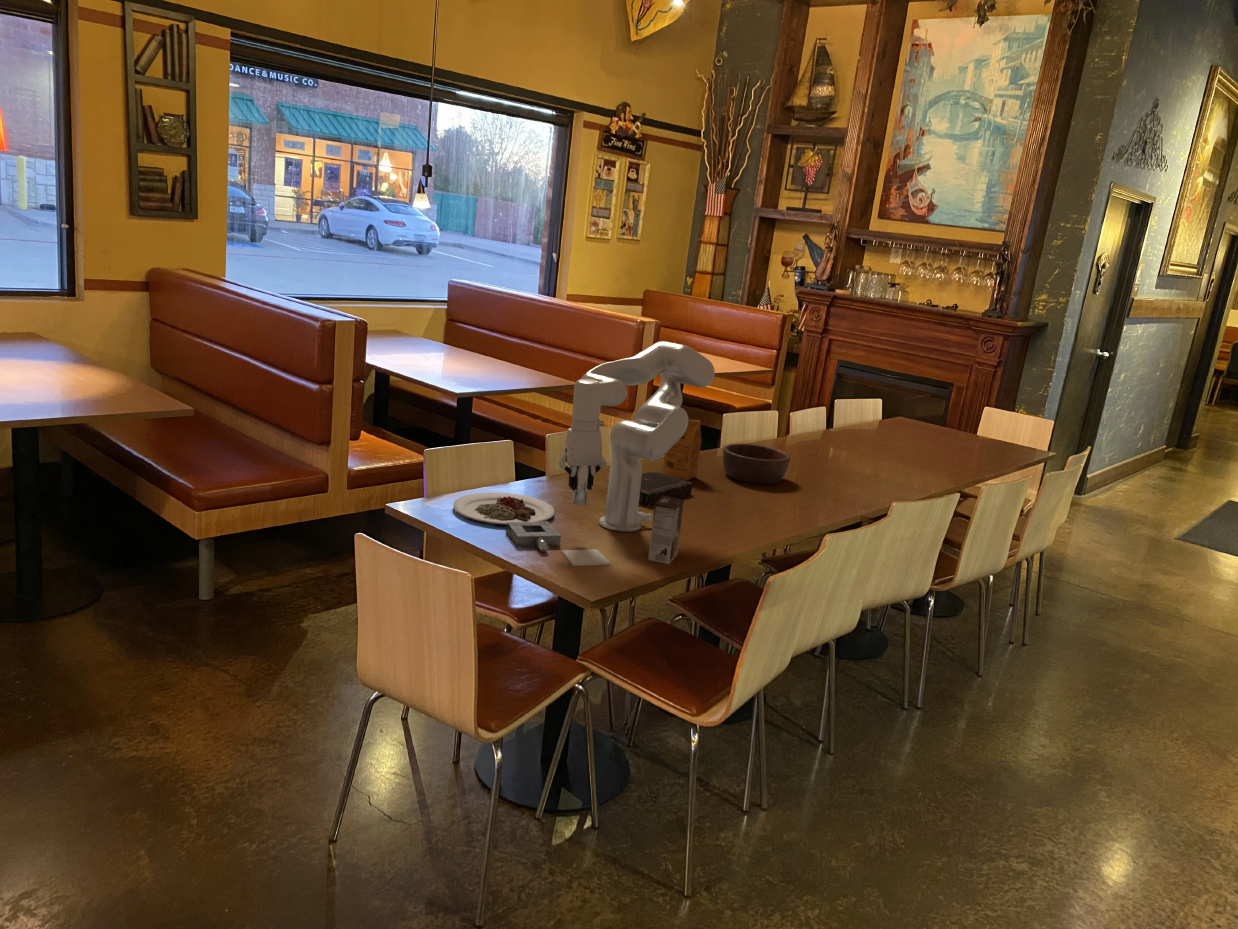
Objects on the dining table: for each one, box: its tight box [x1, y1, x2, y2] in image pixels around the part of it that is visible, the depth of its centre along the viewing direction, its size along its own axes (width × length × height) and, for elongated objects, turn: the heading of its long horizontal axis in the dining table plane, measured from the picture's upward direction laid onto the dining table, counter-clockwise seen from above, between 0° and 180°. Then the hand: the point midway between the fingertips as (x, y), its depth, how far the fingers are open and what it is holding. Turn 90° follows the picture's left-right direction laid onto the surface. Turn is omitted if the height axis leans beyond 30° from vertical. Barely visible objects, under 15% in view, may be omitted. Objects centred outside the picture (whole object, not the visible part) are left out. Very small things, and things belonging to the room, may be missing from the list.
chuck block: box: [505, 520, 562, 553], centre depth 257 cm, size 12×17×3 cm
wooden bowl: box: [722, 443, 791, 486], centre depth 352 cm, size 25×25×10 cm
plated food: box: [452, 492, 555, 526], centre depth 280 cm, size 30×30×3 cm
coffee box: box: [647, 496, 685, 565], centre depth 255 cm, size 9×6×16 cm
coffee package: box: [661, 418, 702, 481], centre depth 341 cm, size 10×12×22 cm
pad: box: [561, 548, 611, 567], centre depth 249 cm, size 10×10×1 cm
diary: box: [605, 471, 693, 507], centre depth 316 cm, size 19×25×5 cm
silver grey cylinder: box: [572, 465, 590, 506], centre depth 261 cm, size 4×4×12 cm
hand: (580, 488), depth 262 cm, fingers closed on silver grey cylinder, 4 cm apart
